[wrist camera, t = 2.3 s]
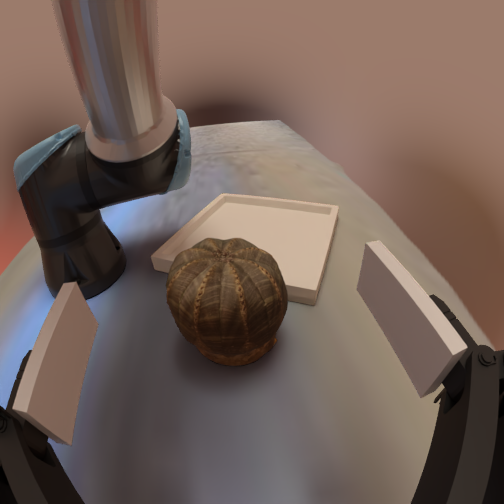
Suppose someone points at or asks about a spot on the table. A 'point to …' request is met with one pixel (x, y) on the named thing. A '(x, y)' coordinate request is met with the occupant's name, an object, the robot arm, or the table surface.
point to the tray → (265, 236)
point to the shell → (227, 299)
